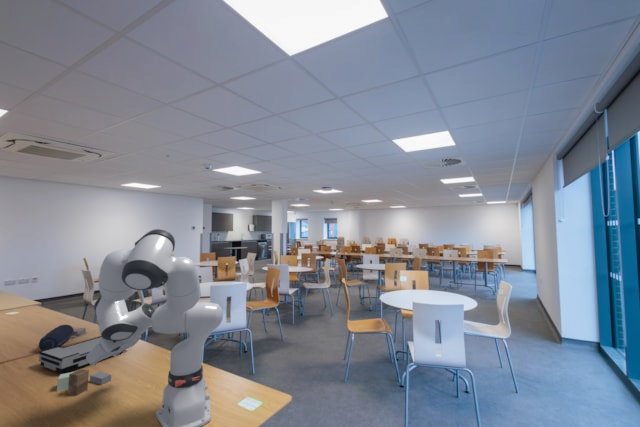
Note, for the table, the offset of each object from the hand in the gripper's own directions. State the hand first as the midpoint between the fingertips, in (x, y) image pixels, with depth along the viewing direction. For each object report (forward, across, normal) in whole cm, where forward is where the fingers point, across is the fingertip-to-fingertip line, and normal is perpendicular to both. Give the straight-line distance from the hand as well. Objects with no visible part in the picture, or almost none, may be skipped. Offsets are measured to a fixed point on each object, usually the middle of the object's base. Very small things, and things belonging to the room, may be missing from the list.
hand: (103, 359), depth 116 cm
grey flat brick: (+19, -9, +2) cm, 21 cm away
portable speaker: (+64, -38, -44) cm, 87 cm away
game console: (+39, -27, -18) cm, 51 cm away
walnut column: (+19, 0, +1) cm, 19 cm away
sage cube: (+25, -2, -5) cm, 26 cm away
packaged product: (+73, -54, -52) cm, 105 cm away
